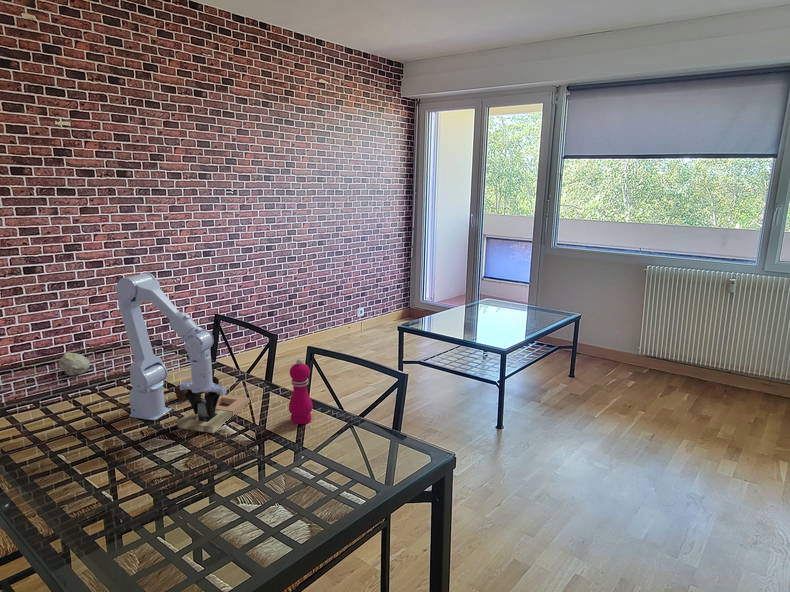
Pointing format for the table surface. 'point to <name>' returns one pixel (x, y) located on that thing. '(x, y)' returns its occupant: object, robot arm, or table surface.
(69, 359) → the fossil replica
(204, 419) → the pin
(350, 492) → the table surface
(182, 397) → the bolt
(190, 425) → the pin mount
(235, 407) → the socket block
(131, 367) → the robot arm
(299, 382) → the pepper mill
